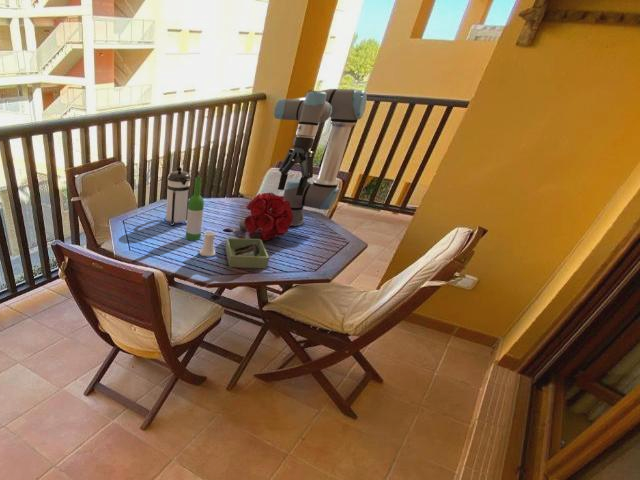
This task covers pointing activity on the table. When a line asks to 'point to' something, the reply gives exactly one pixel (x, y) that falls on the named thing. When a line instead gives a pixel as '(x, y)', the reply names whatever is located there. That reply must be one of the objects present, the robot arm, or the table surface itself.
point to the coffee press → (177, 196)
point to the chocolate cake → (248, 250)
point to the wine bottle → (195, 213)
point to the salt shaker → (208, 245)
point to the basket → (246, 261)
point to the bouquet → (268, 216)
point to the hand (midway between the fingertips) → (289, 192)
